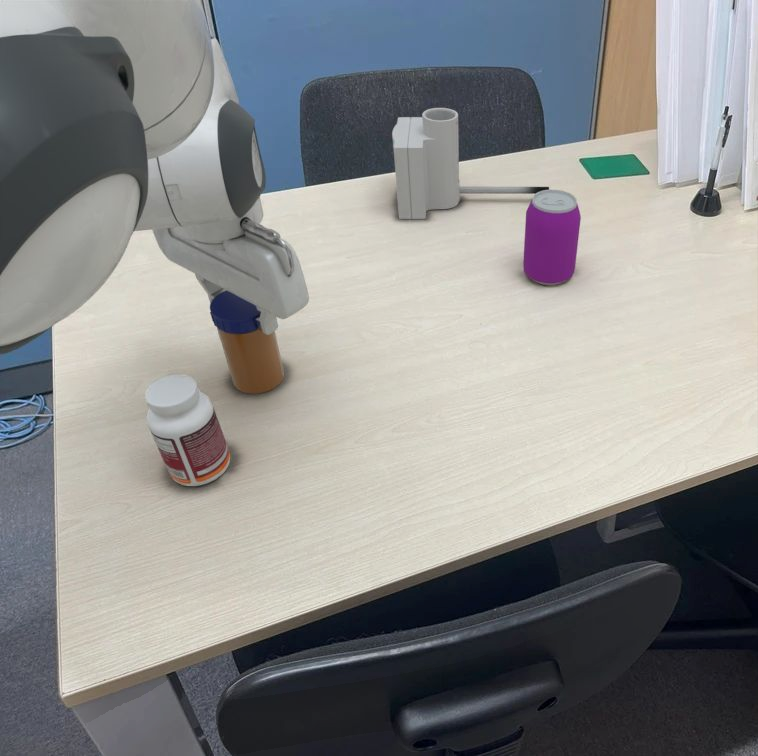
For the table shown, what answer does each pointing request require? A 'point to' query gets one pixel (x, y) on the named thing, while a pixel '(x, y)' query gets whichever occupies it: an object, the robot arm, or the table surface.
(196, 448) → the pill bottle
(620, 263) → the table surface
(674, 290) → the table surface
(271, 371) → the jar
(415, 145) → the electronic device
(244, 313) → the lid
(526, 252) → the beverage can
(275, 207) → the table surface
